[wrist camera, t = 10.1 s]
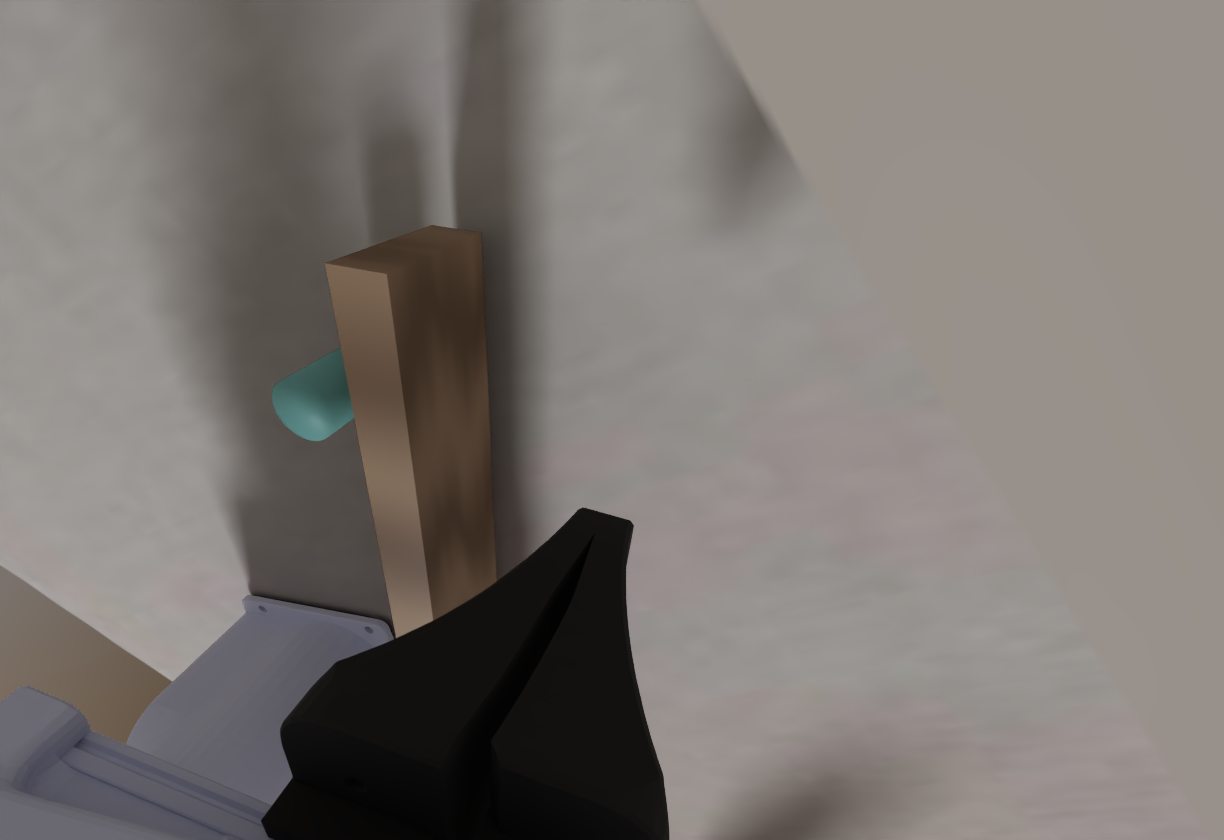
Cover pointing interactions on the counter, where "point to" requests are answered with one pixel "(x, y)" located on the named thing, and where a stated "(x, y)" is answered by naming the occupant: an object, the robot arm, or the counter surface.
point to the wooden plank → (421, 413)
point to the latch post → (315, 398)
